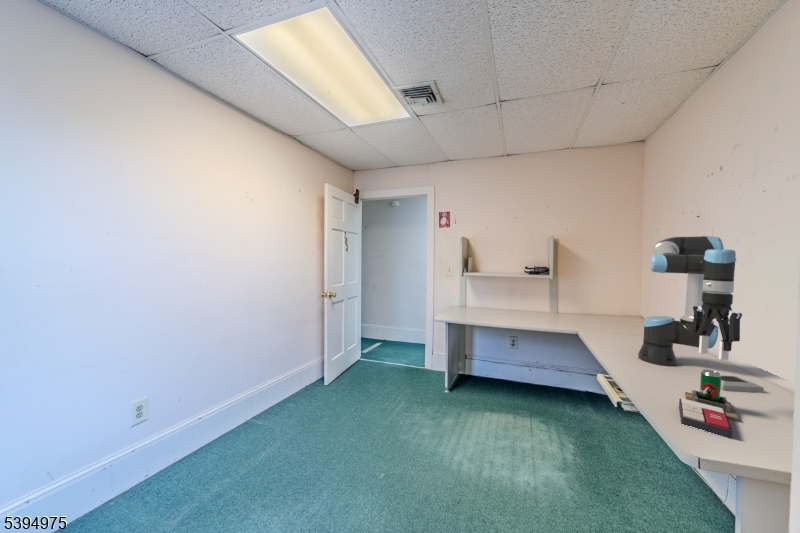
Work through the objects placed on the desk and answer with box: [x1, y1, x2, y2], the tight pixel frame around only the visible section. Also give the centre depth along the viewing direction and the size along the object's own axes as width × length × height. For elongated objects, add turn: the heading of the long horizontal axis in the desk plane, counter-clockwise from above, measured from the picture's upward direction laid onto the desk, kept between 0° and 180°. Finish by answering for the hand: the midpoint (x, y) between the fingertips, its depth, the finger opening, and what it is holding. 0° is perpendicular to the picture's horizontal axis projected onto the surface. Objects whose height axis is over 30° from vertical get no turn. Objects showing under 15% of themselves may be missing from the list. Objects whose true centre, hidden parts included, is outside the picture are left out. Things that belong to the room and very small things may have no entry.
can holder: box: [684, 389, 740, 423], centre depth 106 cm, size 15×12×3 cm
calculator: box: [678, 398, 733, 439], centre depth 97 cm, size 11×4×15 cm
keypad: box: [720, 374, 764, 394], centre depth 124 cm, size 10×4×15 cm
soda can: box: [699, 369, 722, 403], centre depth 106 cm, size 5×5×12 cm
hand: (712, 356), depth 106 cm, fingers open, 6 cm apart
